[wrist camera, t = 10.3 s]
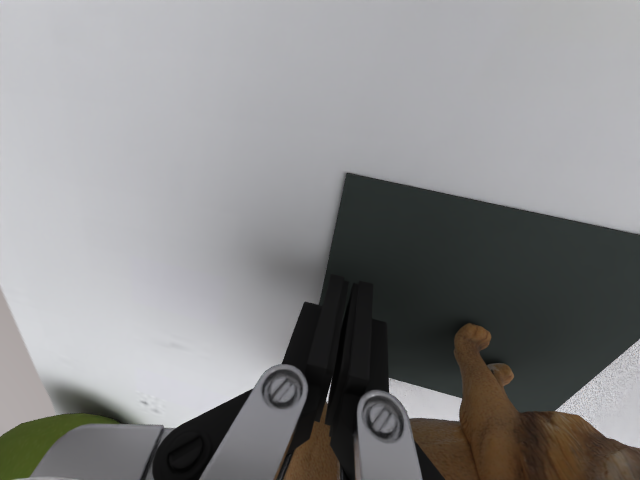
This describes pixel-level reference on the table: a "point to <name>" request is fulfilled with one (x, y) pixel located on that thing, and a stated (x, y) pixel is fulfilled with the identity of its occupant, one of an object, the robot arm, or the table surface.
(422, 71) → the table surface
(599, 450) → the lion figurine
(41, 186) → the table surface
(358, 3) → the table surface
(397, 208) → the mat
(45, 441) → the apple
